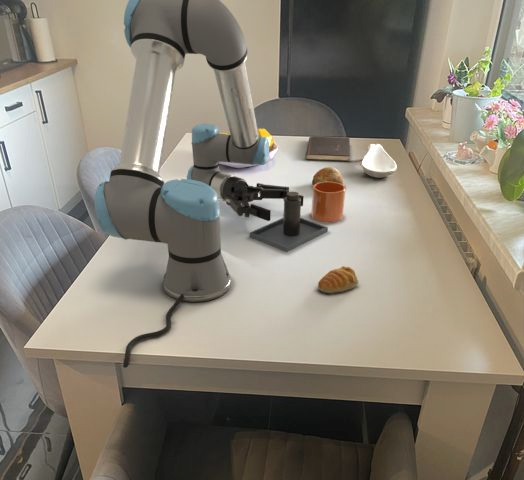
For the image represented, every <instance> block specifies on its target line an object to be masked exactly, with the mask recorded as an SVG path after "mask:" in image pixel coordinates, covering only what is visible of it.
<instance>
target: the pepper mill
mask: <svg viewBox="0 0 524 480" xmlns="http://www.w3.org/2000/svg"><path fill="white" fill-rule="evenodd" d="M299 195H300V193H299V192H298V191H289V192H288V193H287V197H285V198H284V200H283V218H284V224H283V233H284V235H286V236H297V235H299V232H300V218H301V209H302V206H301V198H300V197H299Z"/></svg>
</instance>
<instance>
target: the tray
mask: <svg viewBox="0 0 524 480" xmlns="http://www.w3.org/2000/svg"><path fill="white" fill-rule="evenodd" d="M283 224H284V217H282V218H279V219H277V220H275V221H273V222H271V223H268V224H266V225H264V226H261V227H260V228H257V229H254V230H253V231H250V232H249V238H250V239H253V240H256V241H258V242H261V243H263V244H265V245H268V246H270V247H272V248H275V249H278V250H280V251H283V252H285V253H288V252H290V251H293V250H294V249H296V248H298V247H300V246H302V245H305V244H306V243H308V242H310V241H312V240H314V239H315V238H318V237H320V236H322V235H324V234H325V233H328V232H329V227H328V226H325V225H322V224H319V223H317V222H314V221H311V220H308V219H306V218H303V217H300V232H299V235H297V236H286V235H284V233H283Z"/></svg>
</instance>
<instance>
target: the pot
mask: <svg viewBox="0 0 524 480" xmlns="http://www.w3.org/2000/svg"><path fill="white" fill-rule="evenodd" d="M345 197H346V186H345V185H344V184H343V185H342V184H340V183H337V182H319V183H316V184H315V185H312V198H311V218H312V219H313V220H315V221H317V222H320V223H321V222H322V223H337V222H340V221H341V220H342V219H343V218H344V208H345V207H344V206H345V199H346V198H345Z"/></svg>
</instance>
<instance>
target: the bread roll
mask: <svg viewBox="0 0 524 480" xmlns="http://www.w3.org/2000/svg"><path fill="white" fill-rule="evenodd" d="M319 182H337V183H340V184H342V185H344V176H343V175H342V173H341V172H340V171H339V170H338V169H337V168H335V167H332V166H326V167H323V168H321V169H319V170H318V171H317V172H315V174H314V175H313V177H312V181H311V185H312V186H313V185H315V184H316V183H319Z"/></svg>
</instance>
